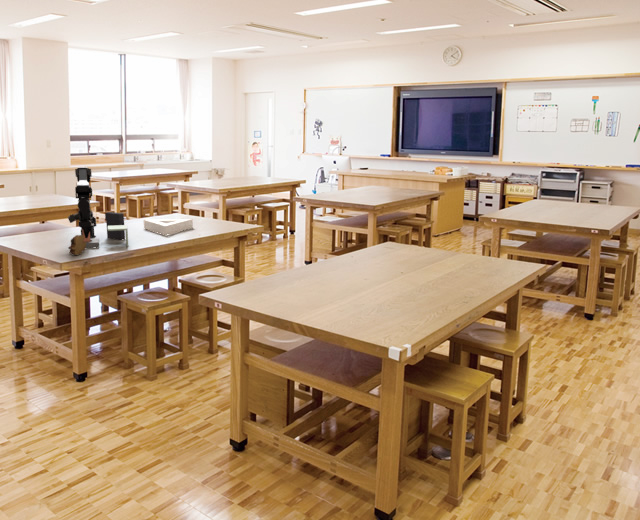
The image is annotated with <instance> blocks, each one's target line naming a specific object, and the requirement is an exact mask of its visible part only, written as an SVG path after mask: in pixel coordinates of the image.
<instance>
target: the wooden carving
mask: <svg viewBox="0 0 640 520" xmlns="http://www.w3.org/2000/svg"><path fill="white" fill-rule="evenodd" d="M83 240H84V236H83V235H81V234H76V235H75V236H73V237H72V238H71V239H70V246H69V247H68V249H69V254H71V255H74V256H79V255H78V254H80V253H81V254H82V253H83V252H85V250H86V249H85V246H86V242H83ZM81 254H80V255H81Z"/></svg>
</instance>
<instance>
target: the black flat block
mask: <svg viewBox="0 0 640 520" xmlns="http://www.w3.org/2000/svg"><path fill="white" fill-rule="evenodd" d="M124 215H125V214H124V213H123V212H112V211H108V212H105V213H104V217H105V221H106V236H107V237H106V238H107V239H108V238H110V239H109V240H116V239H119V240H118V241H123V240H122V239H124V240H126V230H116V231H108V226H114V225H125V217H124Z"/></svg>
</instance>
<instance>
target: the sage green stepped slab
mask: <svg viewBox="0 0 640 520" xmlns="http://www.w3.org/2000/svg"><path fill="white" fill-rule="evenodd" d="M116 230H125V243H126V247H127V246H128V247H129V233H128V232H129V231H128V225H127V224H124V225H114V226H108V231H116Z"/></svg>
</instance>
